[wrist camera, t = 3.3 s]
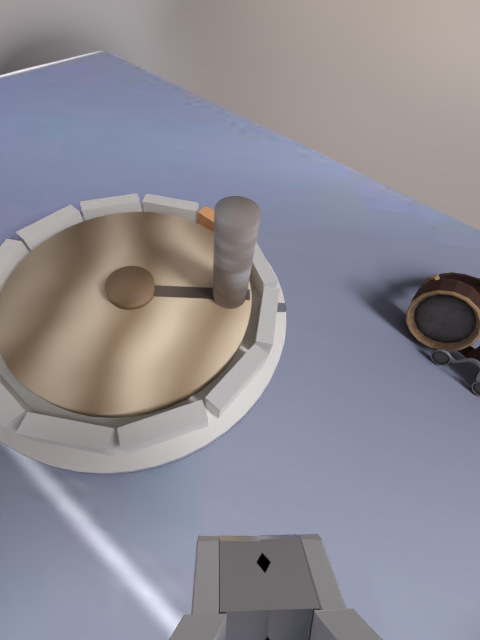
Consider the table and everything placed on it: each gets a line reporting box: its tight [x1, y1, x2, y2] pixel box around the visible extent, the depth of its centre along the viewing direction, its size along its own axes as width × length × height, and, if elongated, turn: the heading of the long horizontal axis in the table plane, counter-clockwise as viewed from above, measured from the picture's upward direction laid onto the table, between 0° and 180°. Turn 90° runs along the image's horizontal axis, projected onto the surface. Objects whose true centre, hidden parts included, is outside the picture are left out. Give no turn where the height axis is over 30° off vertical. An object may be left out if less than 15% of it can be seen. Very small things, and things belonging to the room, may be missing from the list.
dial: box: [0, 196, 261, 418], centre depth 23 cm, size 21×21×10 cm
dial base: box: [0, 193, 286, 474], centre depth 28 cm, size 28×28×4 cm
